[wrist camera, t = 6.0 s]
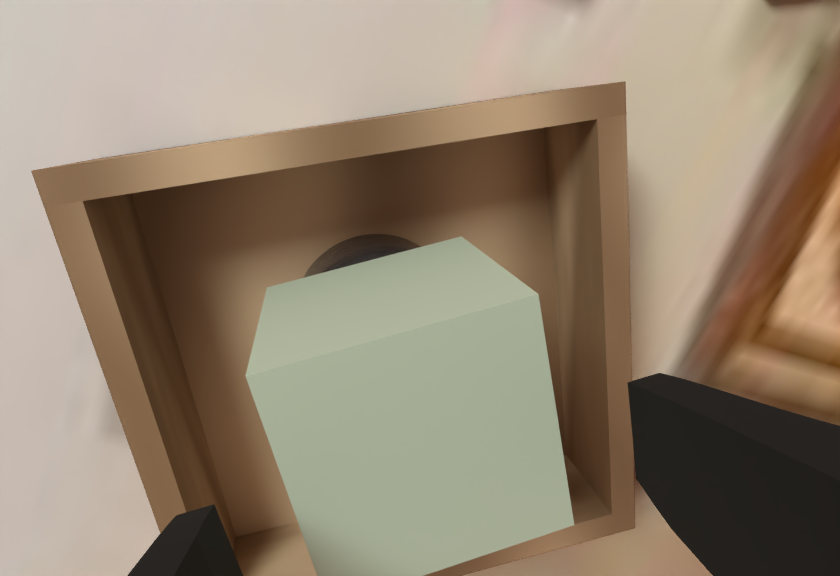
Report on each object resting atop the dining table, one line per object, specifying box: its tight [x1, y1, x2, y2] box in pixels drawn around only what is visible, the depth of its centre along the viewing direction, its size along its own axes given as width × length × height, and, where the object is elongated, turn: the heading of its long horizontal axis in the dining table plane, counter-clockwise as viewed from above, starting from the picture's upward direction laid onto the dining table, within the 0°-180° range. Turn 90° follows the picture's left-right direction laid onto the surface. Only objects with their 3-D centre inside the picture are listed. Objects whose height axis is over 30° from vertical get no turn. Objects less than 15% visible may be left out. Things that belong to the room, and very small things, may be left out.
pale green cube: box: [246, 236, 574, 576], centre depth 12 cm, size 5×5×5 cm
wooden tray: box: [31, 82, 635, 576], centre depth 17 cm, size 14×14×4 cm
